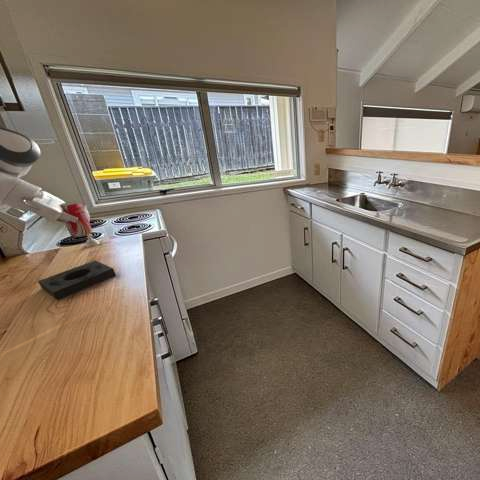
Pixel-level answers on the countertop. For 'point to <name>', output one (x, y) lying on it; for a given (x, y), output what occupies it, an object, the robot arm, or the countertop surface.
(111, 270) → the dock pad
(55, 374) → the countertop surface
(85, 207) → the chalice
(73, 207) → the beverage can
